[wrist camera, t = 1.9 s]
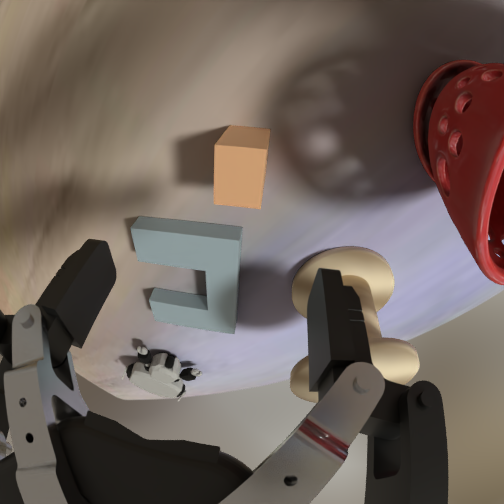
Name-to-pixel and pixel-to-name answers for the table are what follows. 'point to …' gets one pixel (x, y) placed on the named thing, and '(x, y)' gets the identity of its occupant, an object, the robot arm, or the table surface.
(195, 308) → the notched board
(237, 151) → the block
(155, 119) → the table surface
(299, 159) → the table surface
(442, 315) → the table surface
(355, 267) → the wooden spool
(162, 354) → the robot toy
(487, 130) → the plant pot
